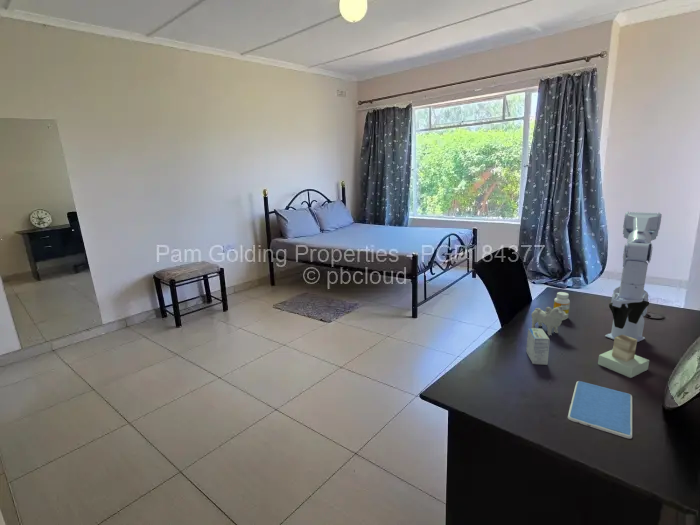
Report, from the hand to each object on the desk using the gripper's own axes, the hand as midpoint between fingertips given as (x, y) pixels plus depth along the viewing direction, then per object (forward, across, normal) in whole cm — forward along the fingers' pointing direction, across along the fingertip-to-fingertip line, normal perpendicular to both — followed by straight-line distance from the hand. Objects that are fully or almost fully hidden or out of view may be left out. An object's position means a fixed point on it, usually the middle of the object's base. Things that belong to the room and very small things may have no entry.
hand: (625, 325), depth 115 cm
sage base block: (+11, +6, +4) cm, 13 cm away
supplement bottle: (+10, -14, -29) cm, 34 cm away
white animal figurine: (+10, +2, -23) cm, 26 cm away
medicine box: (+11, +23, -12) cm, 29 cm away
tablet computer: (+12, +31, +12) cm, 35 cm away
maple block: (+8, +6, +4) cm, 11 cm away
